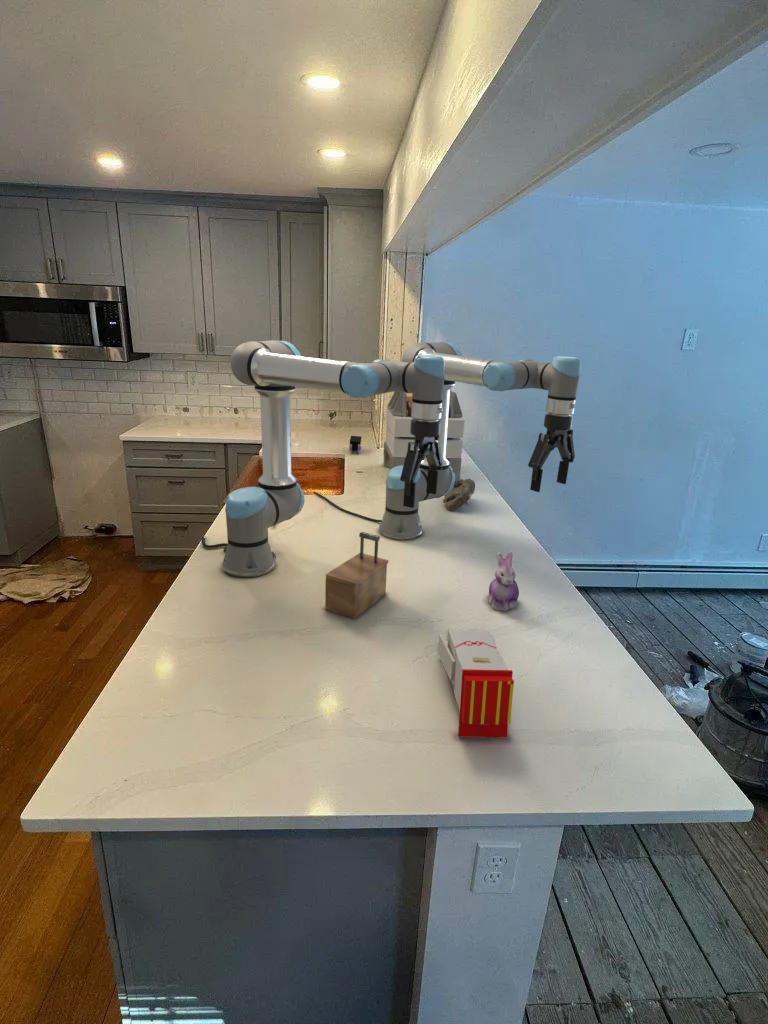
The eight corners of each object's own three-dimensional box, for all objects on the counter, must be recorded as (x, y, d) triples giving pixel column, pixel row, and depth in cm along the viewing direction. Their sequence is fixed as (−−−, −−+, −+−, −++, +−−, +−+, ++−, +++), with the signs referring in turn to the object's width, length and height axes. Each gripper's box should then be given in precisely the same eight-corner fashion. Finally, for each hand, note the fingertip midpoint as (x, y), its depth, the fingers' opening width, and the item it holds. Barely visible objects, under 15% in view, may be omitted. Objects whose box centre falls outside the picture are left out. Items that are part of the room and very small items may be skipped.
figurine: (500, 615, 149) (507, 563, 144) (477, 598, 157) (483, 548, 152) (528, 608, 153) (536, 557, 148) (504, 591, 161) (510, 543, 156)
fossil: (439, 484, 243) (468, 465, 238) (451, 501, 246) (481, 483, 241) (438, 506, 224) (470, 486, 219) (452, 524, 226) (484, 505, 221)
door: (360, 555, 159) (361, 526, 156) (388, 563, 155) (389, 534, 152) (325, 577, 145) (325, 546, 142) (355, 586, 141) (356, 555, 138)
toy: (488, 613, 130) (523, 677, 101) (484, 667, 133) (517, 744, 104) (435, 612, 130) (455, 676, 101) (432, 666, 133) (451, 743, 103)
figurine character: (361, 457, 304) (361, 447, 317) (361, 444, 301) (362, 434, 314) (348, 456, 304) (349, 447, 317) (348, 443, 300) (349, 434, 314)
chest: (357, 585, 162) (358, 556, 159) (385, 593, 158) (387, 564, 155) (325, 608, 148) (325, 577, 145) (354, 618, 144) (355, 587, 141)
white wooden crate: (382, 463, 289) (386, 382, 275) (445, 464, 293) (451, 384, 279) (390, 482, 257) (394, 392, 243) (460, 483, 261) (468, 394, 247)
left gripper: (417, 429, 130) (411, 515, 137) (458, 414, 150) (452, 490, 158) (388, 424, 133) (384, 509, 140) (433, 411, 154) (427, 485, 161)
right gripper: (545, 420, 148) (534, 497, 155) (594, 412, 163) (582, 482, 171) (521, 415, 153) (512, 490, 160) (571, 408, 169) (560, 477, 176)
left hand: (420, 499), depth 149 cm, fingers open, 13 cm apart
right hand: (548, 486), depth 165 cm, fingers open, 13 cm apart
